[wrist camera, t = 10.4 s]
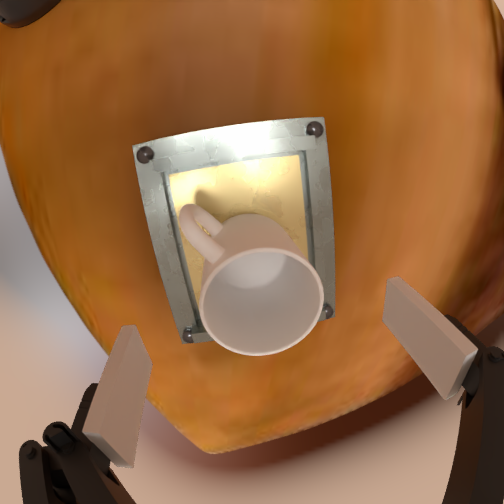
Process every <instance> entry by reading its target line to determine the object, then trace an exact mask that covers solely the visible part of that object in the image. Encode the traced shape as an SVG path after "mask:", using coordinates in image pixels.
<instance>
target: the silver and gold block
mask: <svg viewBox="0 0 504 504" xmlns="http://www.w3.org/2000/svg"><path fill="white" fill-rule="evenodd" d="M132 147H133V153H134V159H135V165H136V171H137V176H138V181H139V186H140V191H141V196H142V201H143V205H144V210H145V215H146V219H147V223H148V227H149V232H150V236H151V240H152V244H153V248H154V252H155V255H156V259H157V263H158V267H159V270H160V274H161V277H162V281H163V284H164V288H165V291H166V294H167V298H168V301H169V304H170V307H171V311H172V314H173V317H174V320H175V323H176V326H177V329H178V332H179V335H180V338H181V341H182V344H185V343H199V342H207V341H214V339H213V338H212V337H211V336H210V335H209V334H208V332H207V331H206V329H205V327H204V325H203V323H202V320H201V317H200V312H199V299H200V291H201V282H202V274H203V266H204V257H203V256H202V255H201V254H200V253H199V252H198V251H197V250H196V249H195V248H194V247H193V246H192V245H191V244H190V242H189V241H188V240H187V239H186V237H185V236H184V234H183V232H182V230H181V227H180V223H179V213H180V210H181V208H182V207H183V206H184V205H186V204H195V205H198V206H200V207H201V208H203V209H204V210H206V211H207V212H208V213H209V214H211V215H212V216H213V217H214V218H215V219H217V220H218V221H219V222H220V223H223V222H224V221H226V220H227V219H229V218H231V217H234V216H237V215H241V214H259V215H263V216H266V217H268V218H270V219H272V220H274V221H275V222H276V223H278V224H279V225H280V226H281V227H282V228H283V229H284V230H285V231H286V233H287V234H288V235H289V236H290V238H291V239H292V240H293V242H294V243H295V244H296V245H297V247H298V248H299V249H300V251H301V252H302V253H303V255H304V256H305V257H306V259H307V260H308V261H309V262H310V264H311V265H312V266H313V268H314V269H315V270H316V272H317V274H318V275H319V277H320V280H321V283H322V286H323V292H324V301H323V307H322V311H321V314H320V317H319V319H318V321H323V320H326V319H329V318H332V317H335V248H334V223H333V206H332V191H331V179H330V168H329V157H328V148H327V139H326V131H325V123H324V117H313V118H296V119H283V120H272V121H262V122H253V123H245V124H238V125H231V126H224V127H217V128H211V129H206V130H200V131H195V132H189V133H184V134H179V135H175V136H170V137H165V138H161V139H157V140H153V141H148V142H144V143H140V144H137V145H133V146H132ZM196 222H197V221H196ZM197 224H198V225H199V226H200V228H201V229H202V230H203V231H204V232H205V233H206V234H208V235H209V236H210V237H211V234H210V233H209V232H208V231H207V230H206V229H205V228H204V227H203V226H202V225H201V224H200V223H198V222H197ZM318 321H317V322H318Z"/></svg>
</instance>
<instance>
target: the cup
mask: <svg viewBox="0 0 504 504" xmlns="http://www.w3.org/2000/svg"><path fill="white" fill-rule="evenodd" d="M196 221H197V222H198V223H200V224H201V225H202V226H203V227H204V228H205V229H206V230H207V231H208V232H209V233H210V234H211V237H210V236H209V235H208V234H206V233H205V232H204V231H203V230H202V229H201V228H200V226H199V225H198V224H197V222H196ZM179 223H180V227H181V230H182V232H183V234H184V236H185V237H186V239H187V240H188V241H189V242H190V244H191V245H192V246H193V247H194V248H195V249H196V250H197V251H198V252H199V253H200V254H201V255H202V256H203V257H204V266H203V274H202V282H201V291H200V299H199V312H200V317H201V320H202V323H203V325H204V327H205V329H206V331H207V332H208V334H209V335H210V336H211V337H212V338H213V339H214V340H215V341H216V342H217V343H219V344H220V345H221V346H223V347H225V348H226V349H228V350H231V351H233V352H236V353H239V354H244V355H252V356H262V355H269V354H274V353H278V352H281V351H283V350H286V349H288V348H290V347H292V346H294V345H295V344H297V343H298V342H300V341H301V340H302V339H303V338H304V337H306V336H307V335H308V334H309V332H310V331H311V330H312V329H313V327H314V326H315V324H316V323H317V321H318V319H319V317H320V314H321V311H322V307H323V301H324V292H323V286H322V283H321V280H320V277H319V275H318V274H317V272H316V270H315V269H314V268H313V266H312V265H311V264H310V262H309V261H308V260H307V259H306V257H305V256H304V255H303V253H302V252H301V251H300V249H299V248H298V247H297V245H296V244H295V243H294V242H293V240H292V239H291V238H290V236H289V235H288V234H287V233H286V231H285V230H284V229H283V228H282V227H281V226H280V225H279V224H278V223H276V222H275V221H274V220H272V219H270V218H268V217H266V216H263V215H259V214H241V215H237V216H234V217H231V218H229V219H227V220H226V221H224V222H223V223H220V222H219V221H218V220H217V219H215V218H214V217H213V216H212V215H211V214H209V213H208V212H207V211H206V210H204V209H203V208H201V207H200V206H198V205H195V204H186V205H184V206H183V207H182V208H181V210H180V213H179Z"/></svg>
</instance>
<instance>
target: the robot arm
mask: <svg viewBox="0 0 504 504" xmlns="http://www.w3.org/2000/svg"><path fill="white" fill-rule="evenodd" d="M59 1H60V0H0V22H1V23H2V24H4V25H7V26H9V27H12V28H19V27H23V26H25V25H28V24H30V23H32V22H34V21H35V20H37V19H38V18H40V17H41V16H43V15H44V14H45V13H47V12H48V11H49V10H50V9H52V8H53V7H54V6H55V5H56V4H57V3H58V2H59ZM382 321H383V322H384V324H385V325H386V326H387V327H388V328H389V330H390V331H391V332H392V333H393V334H394V336H395V337H396V338H397V339H398V341H399V342H400V343H401V344H402V346H403V347H404V348H405V349H406V351H407V352H408V353H409V354H410V356H411V357H412V358H413V359H414V361H415V362H416V363H417V365H418V366H419V367H420V368H421V370H422V371H423V372H424V374H425V375H426V376H427V377H428V379H429V380H430V381H431V383H432V384H433V385H434V387H435V388H436V389H437V391H438V392H439V393H440V395H441V396H442V397H443V399H444V400H445V401H446V400H447V399H449V398H451V397H453V396H454V395H456V394H457V393H458V391H459V389H460V387H461V385H462V386H463V387H464V388H465V390H464V392H463V394H462V396H461V398H460V400H459V401H458V404H457V405H460V403H461V401H462V411H461V420H460V427H459V434H458V440H457V446H456V451H455V456H454V461H453V465H452V470H451V474H450V478H449V482H448V485H447V489H446V492H445V496H444V499H443V502H442V504H503V499H504V351H503V350H501V349H500V348H498V347H494V346H493V347H486V346H485V345H484V344H483V343H481V342H480V341H479V340H478V339H477V338H476V337H475V336H474V335H473V334H472V333H471V332H470V331H468V329H467V328H466V327H465V326H463V325H462V324H461V323H460V322H459V321H458V320H457V319H456V318H454V317H452V316H450V315H448V314H447V315H444V316H443V315H442V314H441V313H440V312H439V311H438V310H437V309H436V308H435V307H433V306H432V305H431V304H430V303H429V302H428V301H427V300H426V299H425V298H423V297H422V296H421V295H420V294H419V293H418V292H417V291H415V290H414V289H413V288H412V287H411V286H410V285H408V284H407V283H406V282H405V281H404V280H403V279H401V278H400V277H399V276H397V277H394V278H390V279H387V286H386V296H385V304H384V312H383V319H382ZM152 365H153V364H152V361H151V359H150V357H149V355H148V353H147V351H146V348H145V346H144V344H143V342H142V339H141V337H140V335H139V332H138V330H137V327H136V325H126V326H122V327H121V330H120V332H119V334H118V337H117V339H116V341H115V344H114V346H113V348H112V351H111V353H110V356H109V358H108V361H107V363H106V366H105V368H104V371H103V373H102V376H101V378H100V381H99V383H92V384H91V385H90V386H89V387H88V388H87V389H86V391H85V393H84V395H83V398H82V402H81V403H80V405H79V409H78V411H77V413H76V416H75V419H74V422H73V425H72V428H71V429H70V428H69V427H68V426H67V425H66V424H65V423H63V422H54V423H51V424H50V425H48V426H47V427H46V429H45V430H44V433H43V441H44V442H45V443H46V444H47V445H48V446H45V447H42V446H41V445H40V444H39V443H38V442H37V441H34V440H28V441H26V442H25V443H24V444H23V445H22V446H21V448H20V451H19V466H20V480H21V490H22V497H23V504H136V503H135V501H134V500H133V499H132V498H131V496H130V495H129V493H128V492H127V491H126V489H125V488H124V487H123V485H122V484H121V482H120V481H119V479H118V478H117V476H116V475H115V474H114V472H113V470H112V469H111V468H110V467H109V466H110V461H112V462H113V463H114V464H115V465H116V466H117V467H125V468H133V467H134V460H135V453H136V447H137V441H138V435H139V429H140V423H141V418H142V413H143V407H144V403H145V398H146V393H147V388H148V383H149V378H150V374H151V369H152Z"/></svg>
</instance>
